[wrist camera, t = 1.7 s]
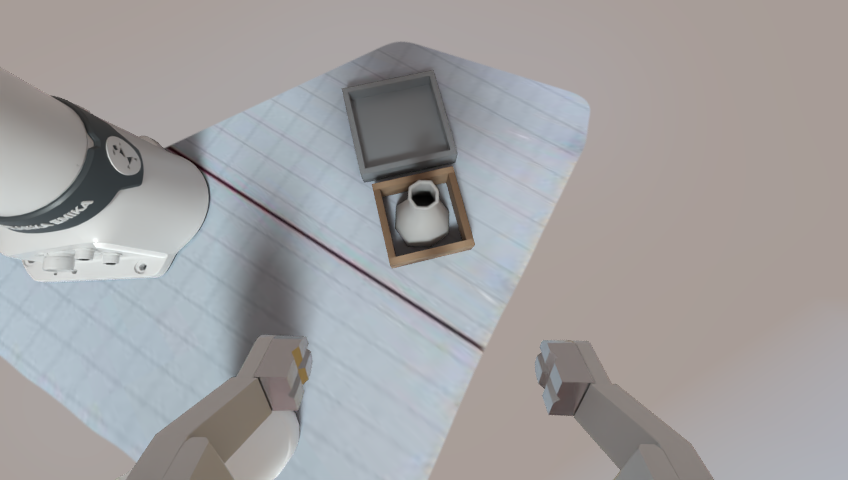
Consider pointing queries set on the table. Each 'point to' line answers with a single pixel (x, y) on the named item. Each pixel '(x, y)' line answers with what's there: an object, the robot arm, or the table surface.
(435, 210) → the flask
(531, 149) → the table surface
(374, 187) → the shaker holder
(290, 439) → the bottle
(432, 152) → the tray
